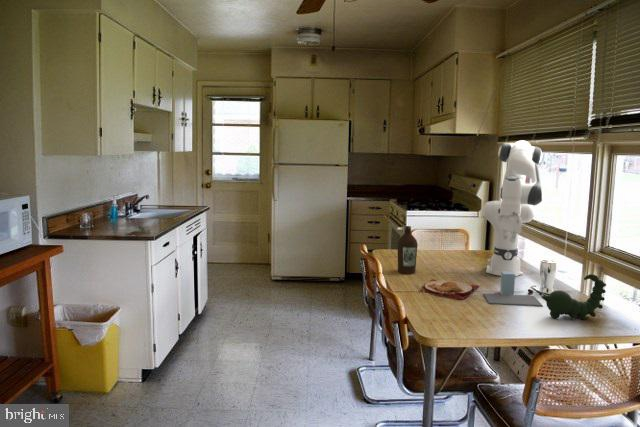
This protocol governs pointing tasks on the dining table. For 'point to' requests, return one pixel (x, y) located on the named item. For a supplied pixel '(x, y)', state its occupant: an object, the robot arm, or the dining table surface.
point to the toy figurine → (566, 305)
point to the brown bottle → (407, 252)
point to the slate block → (507, 283)
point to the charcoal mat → (512, 299)
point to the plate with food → (449, 288)
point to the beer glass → (547, 275)
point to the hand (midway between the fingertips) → (508, 240)
